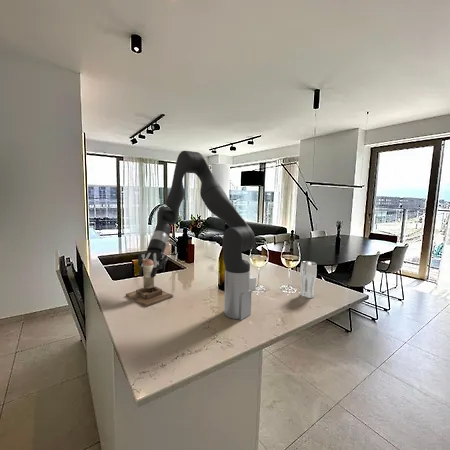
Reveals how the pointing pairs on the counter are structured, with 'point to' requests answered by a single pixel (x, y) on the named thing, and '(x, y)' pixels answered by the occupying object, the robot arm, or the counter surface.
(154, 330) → the counter surface
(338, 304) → the counter surface
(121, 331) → the counter surface
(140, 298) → the cradle
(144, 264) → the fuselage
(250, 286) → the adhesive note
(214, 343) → the counter surface
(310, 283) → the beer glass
